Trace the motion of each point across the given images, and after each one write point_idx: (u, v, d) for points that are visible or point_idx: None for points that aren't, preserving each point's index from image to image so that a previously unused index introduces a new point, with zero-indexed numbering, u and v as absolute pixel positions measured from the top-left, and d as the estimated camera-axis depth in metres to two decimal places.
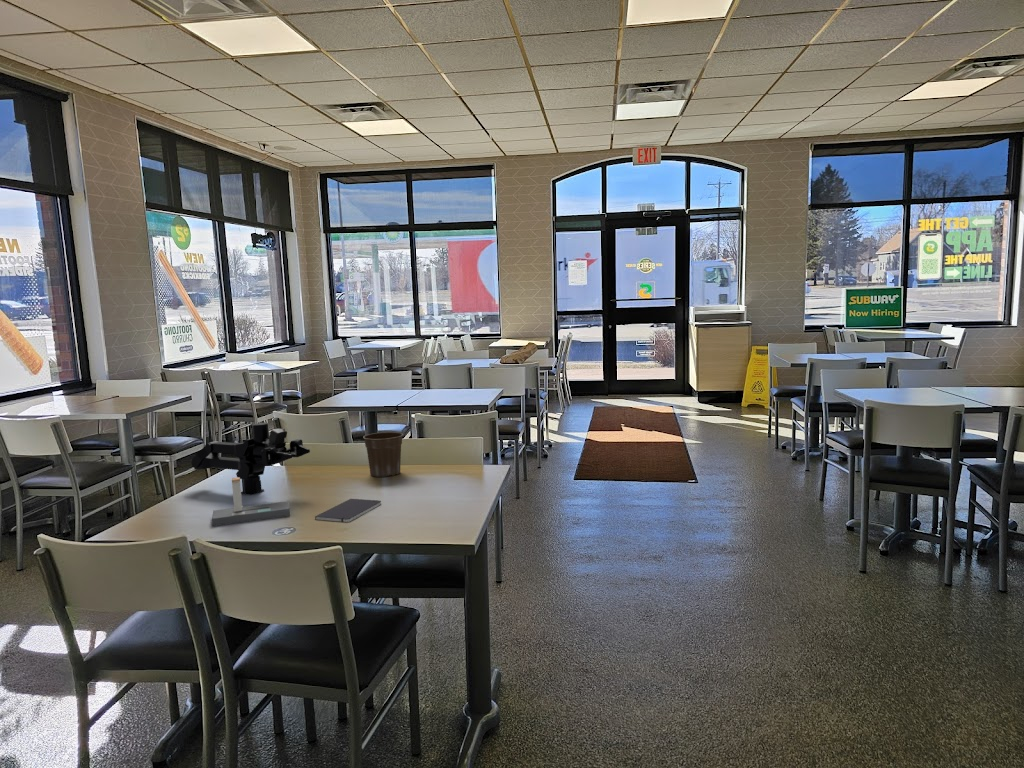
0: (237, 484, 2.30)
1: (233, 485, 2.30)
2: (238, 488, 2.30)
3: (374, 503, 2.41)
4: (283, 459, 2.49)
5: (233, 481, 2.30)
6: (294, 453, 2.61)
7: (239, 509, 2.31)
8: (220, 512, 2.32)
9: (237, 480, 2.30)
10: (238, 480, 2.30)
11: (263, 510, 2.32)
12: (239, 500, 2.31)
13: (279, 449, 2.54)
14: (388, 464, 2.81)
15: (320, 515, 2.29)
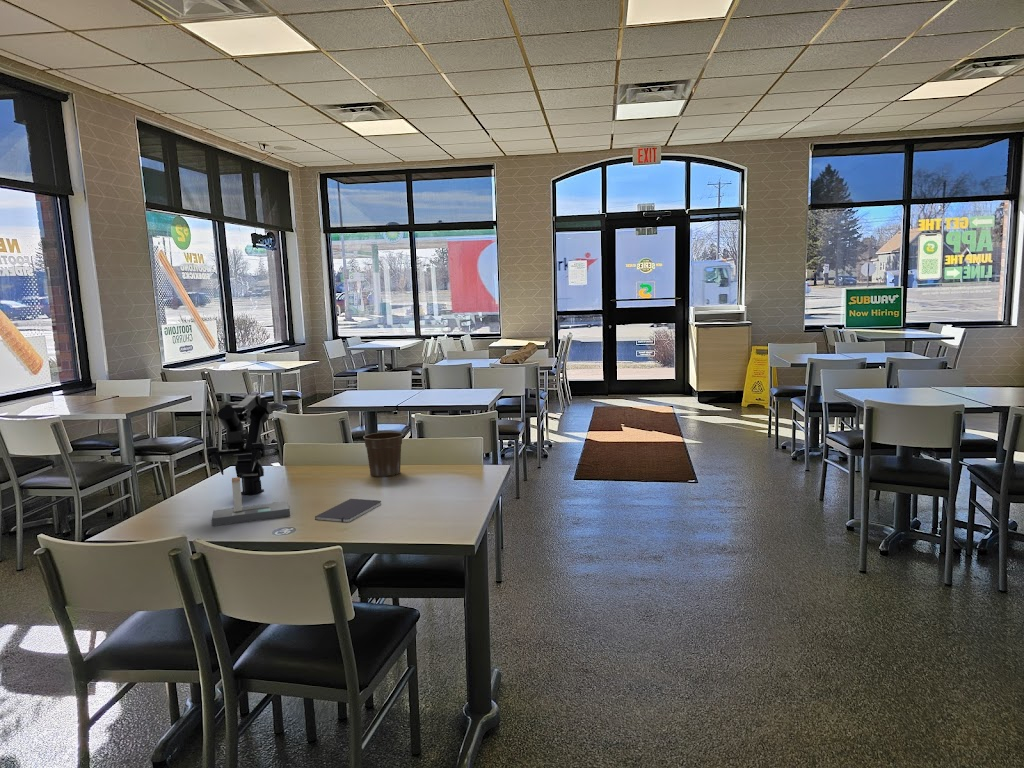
0: (237, 484, 2.30)
1: (233, 485, 2.30)
2: (238, 488, 2.30)
3: (374, 503, 2.41)
4: (219, 469, 2.39)
5: (233, 481, 2.30)
6: None
7: (239, 509, 2.31)
8: (220, 512, 2.32)
9: (237, 480, 2.30)
10: (238, 480, 2.30)
11: (263, 510, 2.32)
12: (239, 500, 2.31)
13: (231, 450, 2.42)
14: (388, 464, 2.81)
15: (320, 515, 2.29)
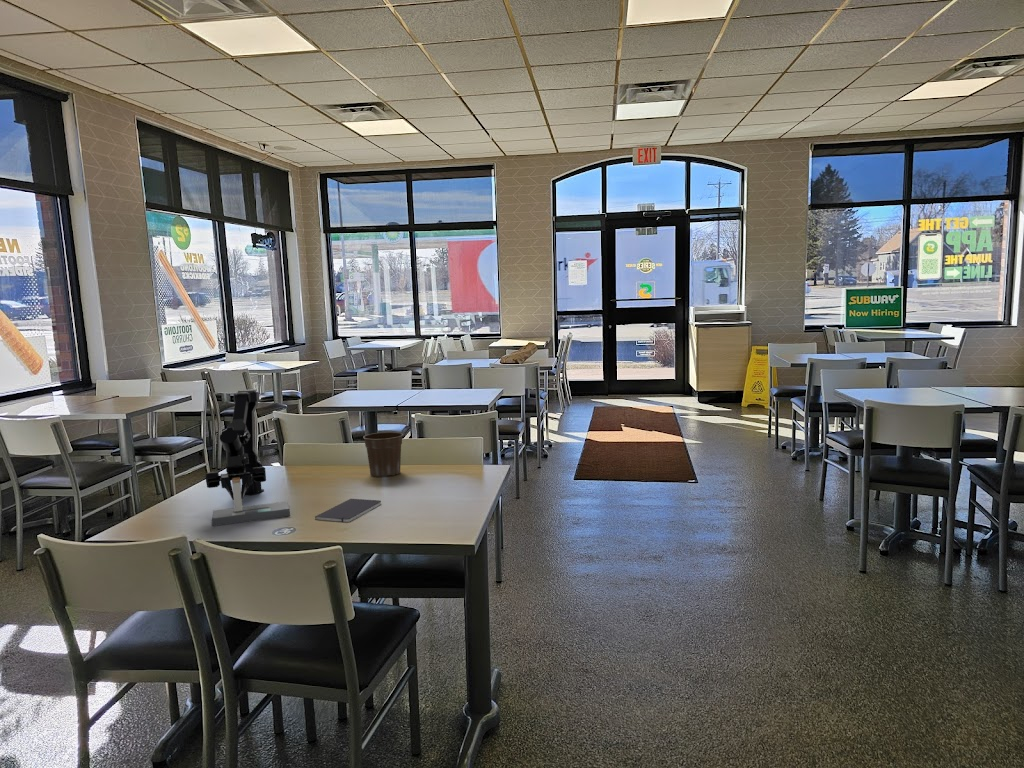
0: (238, 484, 2.30)
1: (233, 485, 2.30)
2: (238, 488, 2.30)
3: (374, 503, 2.41)
4: (229, 493, 2.32)
5: (233, 481, 2.30)
6: None
7: (239, 509, 2.31)
8: (220, 512, 2.32)
9: (237, 480, 2.30)
10: (238, 480, 2.30)
11: (263, 510, 2.32)
12: (239, 500, 2.31)
13: (231, 475, 2.34)
14: (388, 464, 2.81)
15: (320, 515, 2.29)
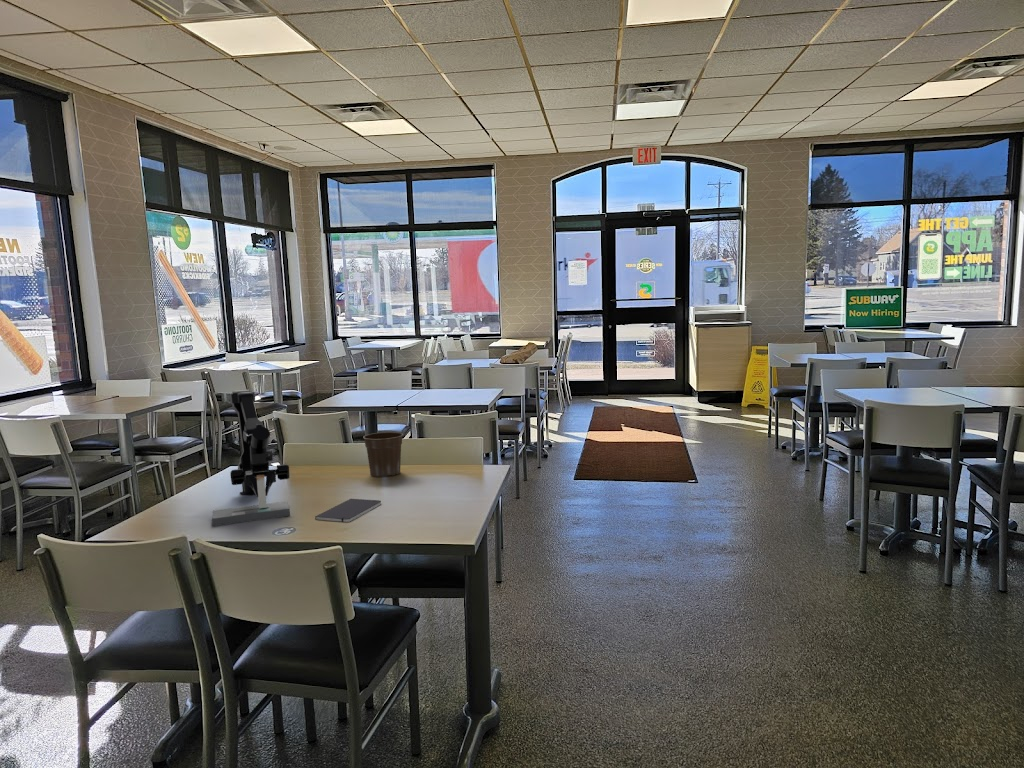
0: (262, 481, 2.33)
1: (258, 482, 2.32)
2: (263, 485, 2.33)
3: (374, 503, 2.41)
4: (253, 490, 2.35)
5: (258, 478, 2.32)
6: None
7: (264, 506, 2.34)
8: (220, 512, 2.32)
9: (262, 477, 2.33)
10: (263, 477, 2.33)
11: (263, 510, 2.32)
12: (264, 497, 2.33)
13: (255, 472, 2.37)
14: (388, 464, 2.81)
15: (320, 515, 2.29)
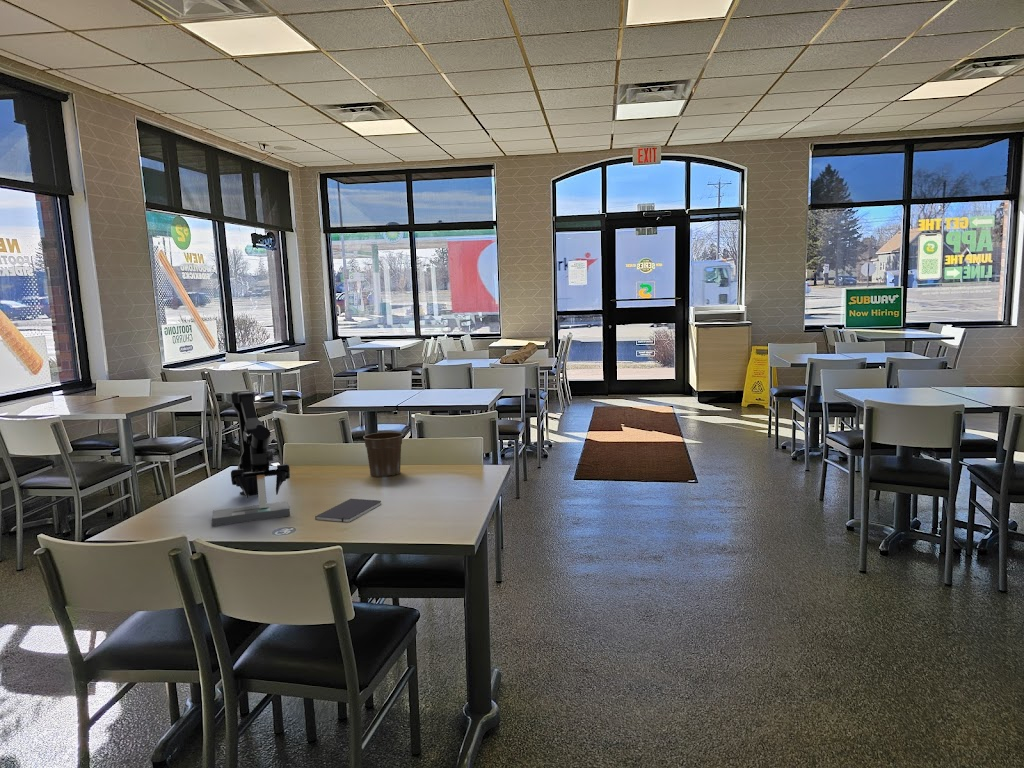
0: (262, 481, 2.33)
1: (258, 482, 2.32)
2: (263, 485, 2.33)
3: (374, 503, 2.41)
4: (243, 491, 2.34)
5: (258, 478, 2.32)
6: None
7: (264, 506, 2.34)
8: (220, 512, 2.32)
9: (262, 477, 2.33)
10: (263, 477, 2.33)
11: (263, 510, 2.32)
12: (264, 497, 2.33)
13: (255, 472, 2.37)
14: (388, 464, 2.81)
15: (320, 515, 2.29)
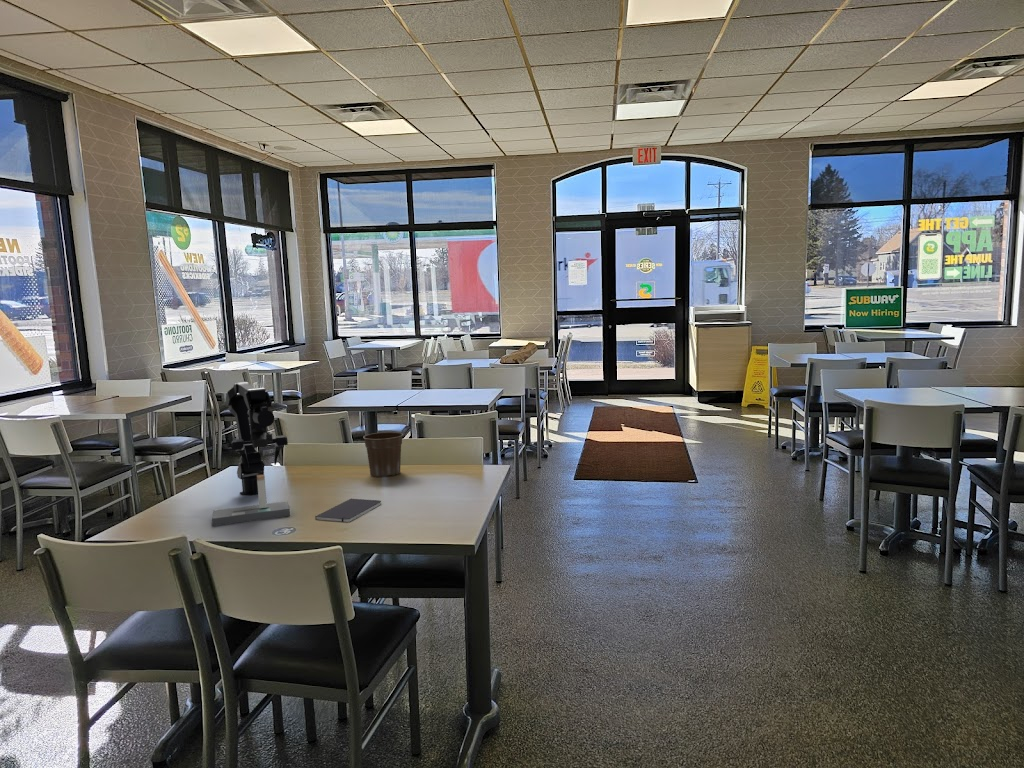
0: (262, 481, 2.33)
1: (258, 482, 2.32)
2: (263, 485, 2.33)
3: (374, 503, 2.41)
4: None
5: (258, 478, 2.32)
6: None
7: (264, 506, 2.34)
8: (220, 512, 2.32)
9: (262, 477, 2.33)
10: (263, 477, 2.33)
11: (263, 510, 2.32)
12: (264, 497, 2.33)
13: None
14: (388, 464, 2.81)
15: (320, 515, 2.29)
